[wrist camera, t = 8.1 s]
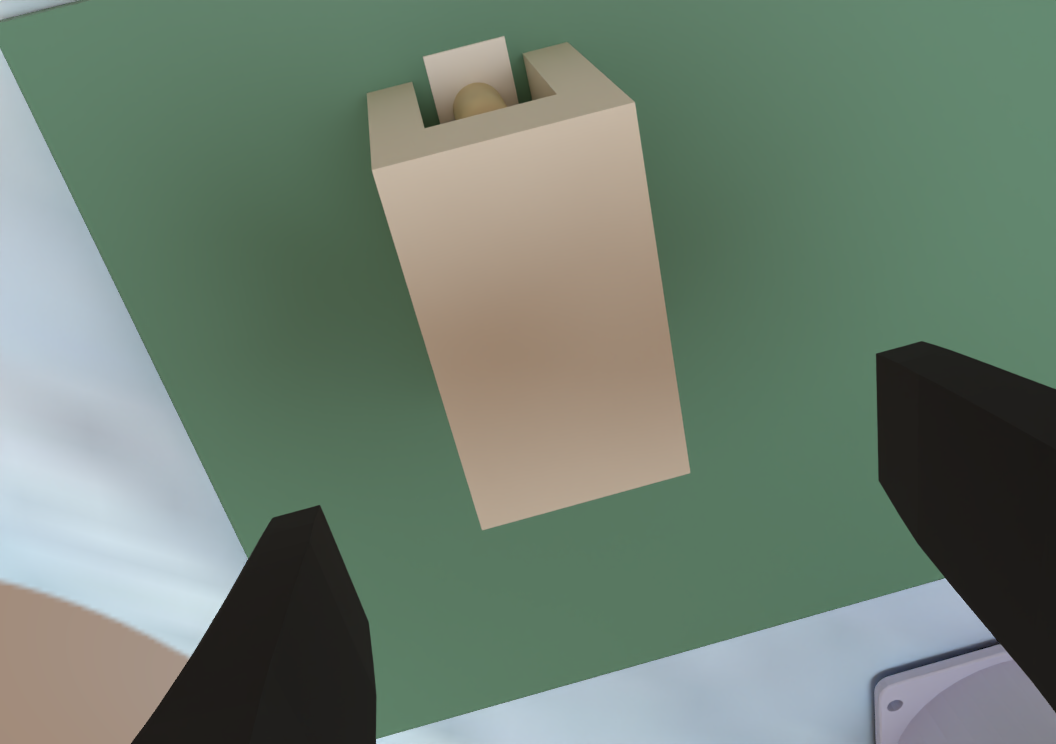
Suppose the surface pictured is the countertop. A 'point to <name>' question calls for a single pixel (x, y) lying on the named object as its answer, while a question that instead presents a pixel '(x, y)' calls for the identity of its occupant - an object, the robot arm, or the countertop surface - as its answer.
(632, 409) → the beige u-shaped channel block
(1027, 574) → the robot arm
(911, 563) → the header board
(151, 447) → the countertop surface
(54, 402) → the countertop surface
